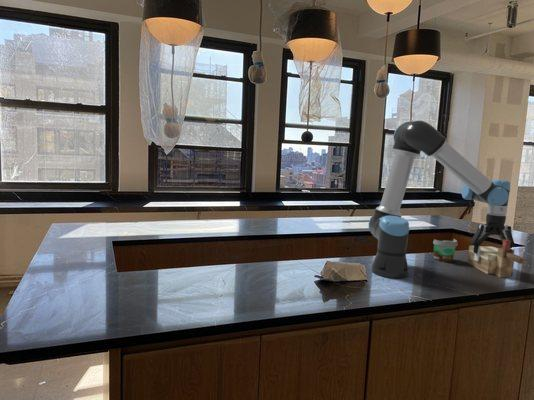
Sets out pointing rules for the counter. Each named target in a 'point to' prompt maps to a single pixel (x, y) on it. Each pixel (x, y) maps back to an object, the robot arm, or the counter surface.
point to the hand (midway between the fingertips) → (490, 260)
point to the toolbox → (494, 264)
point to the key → (510, 255)
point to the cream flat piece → (487, 252)
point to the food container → (444, 250)
